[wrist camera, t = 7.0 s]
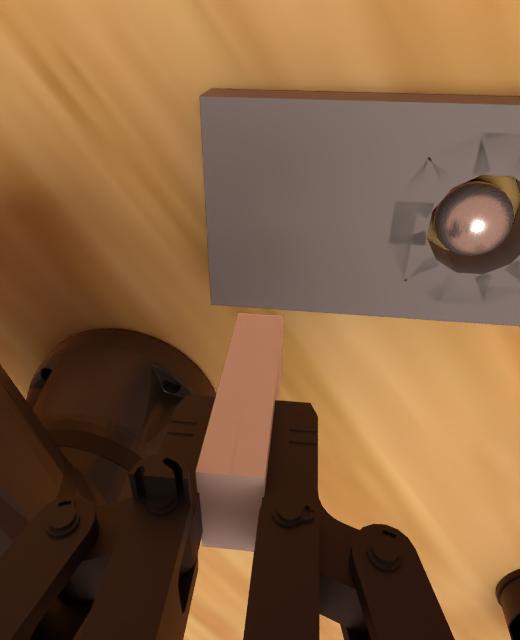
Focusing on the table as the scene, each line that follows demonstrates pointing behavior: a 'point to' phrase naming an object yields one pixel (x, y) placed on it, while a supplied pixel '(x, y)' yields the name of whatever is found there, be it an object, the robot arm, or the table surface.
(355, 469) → the table surface
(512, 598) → the french press
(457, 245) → the ball
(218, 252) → the plate
